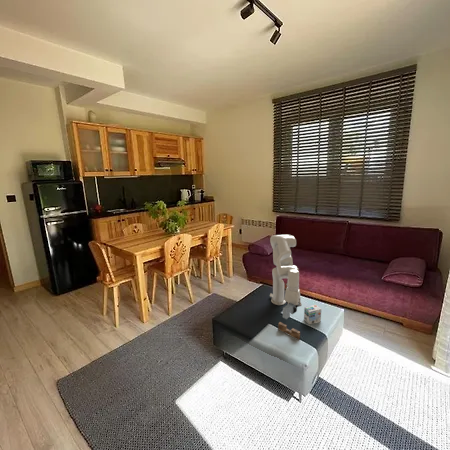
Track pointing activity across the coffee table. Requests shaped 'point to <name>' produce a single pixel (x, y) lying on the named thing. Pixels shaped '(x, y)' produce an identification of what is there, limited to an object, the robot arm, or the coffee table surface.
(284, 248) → the robot arm
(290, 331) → the rail
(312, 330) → the coffee table surface
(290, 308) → the bar
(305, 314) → the light bulb box
